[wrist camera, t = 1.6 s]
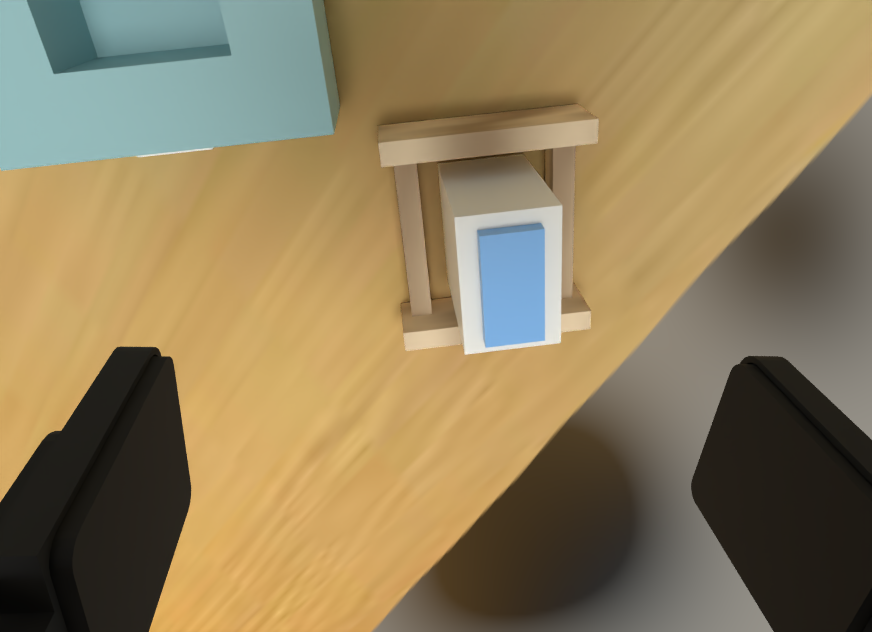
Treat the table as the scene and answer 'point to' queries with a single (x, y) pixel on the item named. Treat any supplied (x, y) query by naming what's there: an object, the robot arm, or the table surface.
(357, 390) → the table surface
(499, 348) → the white box blue label
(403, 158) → the wooden frame
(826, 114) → the table surface
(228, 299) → the table surface
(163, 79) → the block
